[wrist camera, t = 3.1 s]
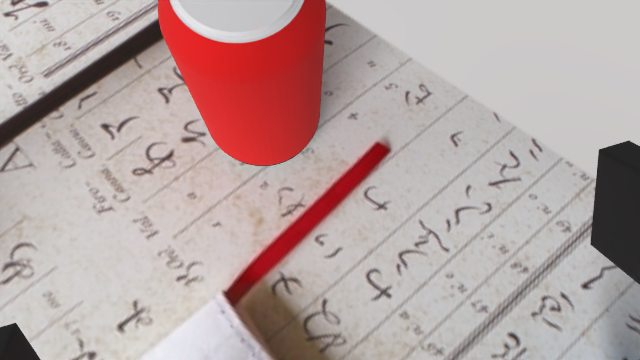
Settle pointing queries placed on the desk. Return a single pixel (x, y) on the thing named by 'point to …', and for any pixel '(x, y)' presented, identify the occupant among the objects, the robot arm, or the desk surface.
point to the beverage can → (251, 71)
